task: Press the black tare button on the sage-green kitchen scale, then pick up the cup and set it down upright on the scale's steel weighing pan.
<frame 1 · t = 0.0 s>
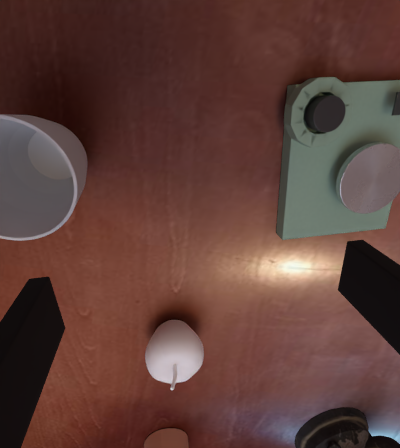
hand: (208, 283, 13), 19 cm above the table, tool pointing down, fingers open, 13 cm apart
scale: (336, 162, 32), on the table
salt shaker: (166, 440, 48), on the table
cup: (57, 153, 27), on the table
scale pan: (382, 157, 28), on the scale, point 3 cm above the table
lantern: (335, 435, 55), on the table
apple: (172, 329, 38), on the table
tare button: (324, 113, 25), point 4 cm above the table, slide at 0.1 cm
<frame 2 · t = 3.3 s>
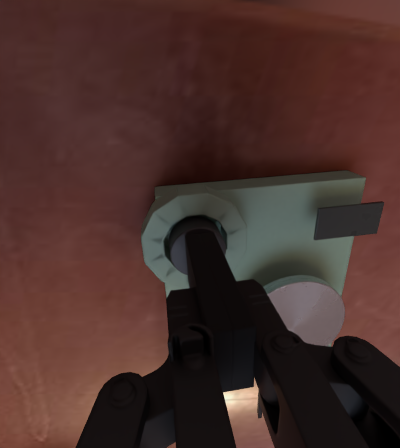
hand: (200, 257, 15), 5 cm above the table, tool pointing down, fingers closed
scale: (251, 279, 22), on the table
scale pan: (304, 295, 18), on the scale, point 3 cm above the table
tare button: (196, 246, 16), point 4 cm above the table, slide at -0.1 cm, touching gripper
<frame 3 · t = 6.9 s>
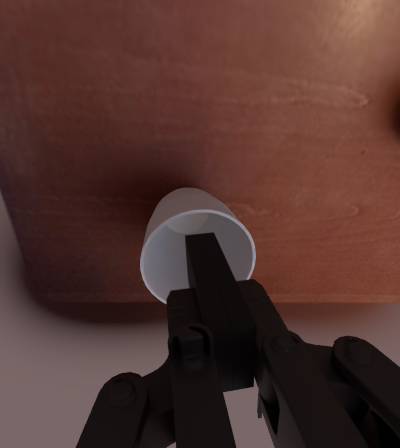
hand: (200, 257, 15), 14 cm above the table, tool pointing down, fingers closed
cup: (184, 210, 29), on the table
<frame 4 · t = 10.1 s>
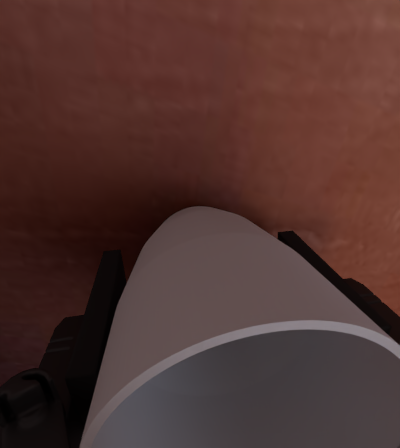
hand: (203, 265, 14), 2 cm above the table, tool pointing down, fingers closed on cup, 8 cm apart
cup: (197, 247, 16), on the table, touching gripper
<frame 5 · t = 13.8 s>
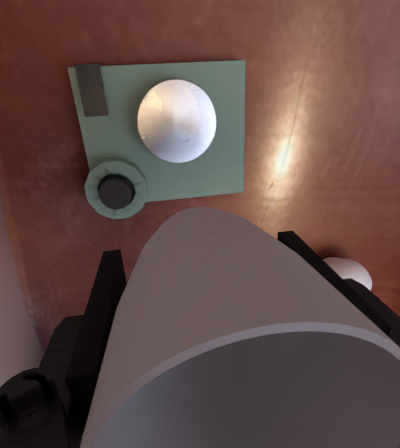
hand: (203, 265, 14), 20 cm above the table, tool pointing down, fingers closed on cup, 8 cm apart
scale: (166, 135, 30), on the table
cup: (197, 247, 16), point 18 cm above the table, touching gripper
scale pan: (152, 116, 26), on the scale, point 4 cm above the table
apple: (325, 268, 41), on the table
tare button: (116, 192, 28), point 4 cm above the table, slide at 0.1 cm
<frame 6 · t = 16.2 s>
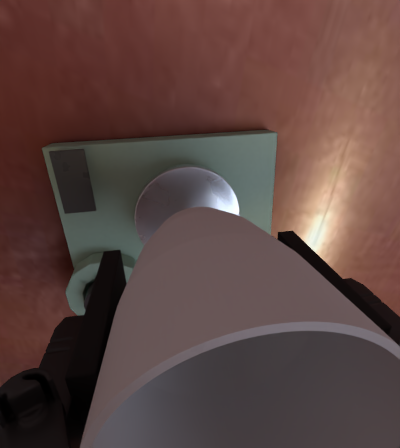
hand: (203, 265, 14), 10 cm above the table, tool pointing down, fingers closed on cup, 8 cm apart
scale: (171, 216, 24), on the table
cup: (197, 247, 16), point 8 cm above the table, touching gripper
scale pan: (154, 210, 19), on the scale, point 4 cm above the table
tare button: (106, 298, 21), point 4 cm above the table, slide at 0.1 cm
when the fingers open (6 cm above the table, at t = 17.7 s): cup stays where it is, resting on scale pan.
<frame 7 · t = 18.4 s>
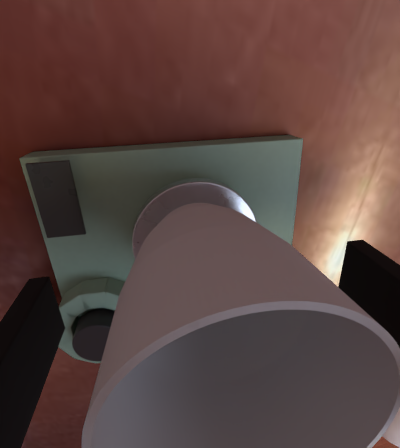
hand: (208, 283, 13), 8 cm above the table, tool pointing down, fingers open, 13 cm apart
scale: (175, 235, 20), on the table
cup: (196, 242, 16), point 4 cm above the table, touching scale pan
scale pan: (156, 233, 16), on the scale, point 3 cm above the table
apple: (379, 376, 32), on the table
tare button: (99, 334, 18), point 4 cm above the table, slide at 0.1 cm
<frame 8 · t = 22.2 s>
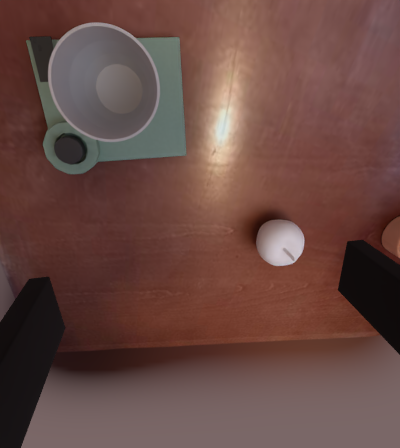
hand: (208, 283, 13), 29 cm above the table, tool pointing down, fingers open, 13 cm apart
scale: (116, 103, 35), on the table
salt shaker: (399, 232, 50), on the table
cup: (119, 89, 31), point 4 cm above the table, touching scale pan
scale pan: (97, 83, 30), on the scale, point 3 cm above the table
apple: (270, 231, 46), on the table
tare button: (70, 149, 33), point 4 cm above the table, slide at 0.1 cm
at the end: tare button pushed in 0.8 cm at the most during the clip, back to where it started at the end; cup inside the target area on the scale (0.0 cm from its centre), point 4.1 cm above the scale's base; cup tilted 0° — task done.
